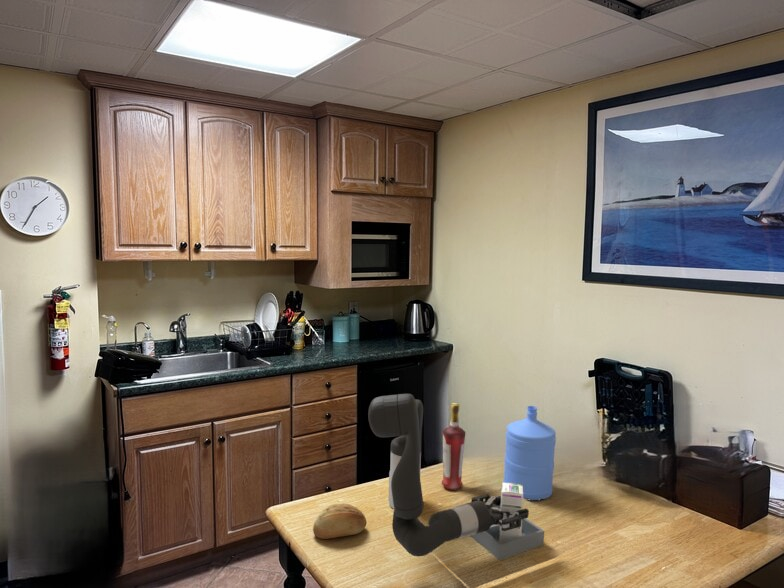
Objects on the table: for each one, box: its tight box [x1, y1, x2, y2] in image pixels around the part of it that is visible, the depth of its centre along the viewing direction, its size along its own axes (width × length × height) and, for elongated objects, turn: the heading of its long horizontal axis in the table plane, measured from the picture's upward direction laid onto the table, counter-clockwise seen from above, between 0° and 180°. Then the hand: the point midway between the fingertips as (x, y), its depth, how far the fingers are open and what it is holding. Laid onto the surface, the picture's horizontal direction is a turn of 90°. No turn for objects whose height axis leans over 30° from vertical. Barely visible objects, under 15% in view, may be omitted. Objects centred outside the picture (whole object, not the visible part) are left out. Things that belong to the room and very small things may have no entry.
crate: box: [470, 505, 545, 561], centre depth 153 cm, size 20×15×5 cm
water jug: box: [502, 405, 557, 501], centre depth 179 cm, size 16×16×28 cm
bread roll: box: [312, 503, 367, 540], centre depth 153 cm, size 10×15×8 cm, turn 109°
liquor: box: [441, 402, 466, 491], centre depth 180 cm, size 7×7×28 cm
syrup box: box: [499, 482, 524, 543], centre depth 148 cm, size 6×6×14 cm
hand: (516, 505), depth 148 cm, fingers closed on syrup box, 7 cm apart
